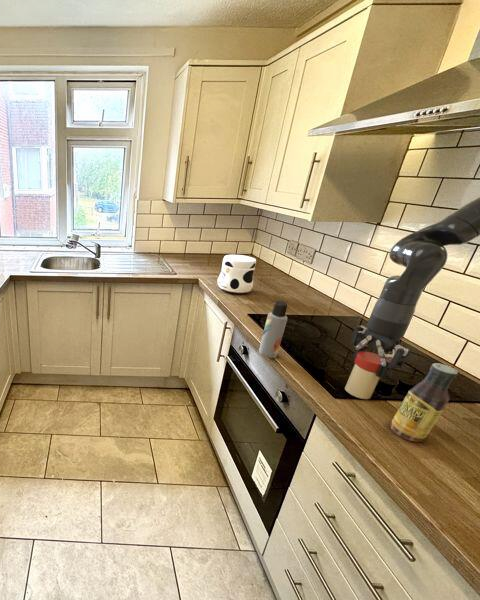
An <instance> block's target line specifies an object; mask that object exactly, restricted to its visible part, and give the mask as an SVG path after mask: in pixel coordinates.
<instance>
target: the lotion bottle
mask: <svg viewBox="0 0 480 600" xmlns="http://www.w3.org/2000/svg"><path fill="white" fill-rule="evenodd" d="M288 305H289V304H288V302H287V301H284V300H274V302H273V306H272V310H271V312H268V314H267V317H266V320H265V325H264V329H263V333H262V337H261V341H260V345H259V349H258V353H259V355H261V356H262V357H265V358H267V359H274V358H277V357H278V353H279V350H280V347H281V344H282V343H281V342H282V340H283V335H284V332H285V329H286V325H287V322H288V316H287V314H286V313H287V310H288Z"/></svg>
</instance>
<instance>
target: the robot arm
mask: <svg viewBox="0 0 480 600" xmlns="http://www.w3.org/2000/svg"><path fill="white" fill-rule="evenodd" d="M478 237H480V196H479V197H476V198H475V199H473V200H471V201H469V202H468V203H466V204H464V205H463V206H461V207H460V208H458V209H457V210H455V211H454V212H452V213H450V214H449V215H448V216H446V217H445V218H442V219H441V220H439V221H438V222H435V223H433V224H430V225H428V226H426V227H423V228H421V229H419V230H417V231H413V232H412V233H410V234H408V235H406V236H404V237H402V238H401V239H399V240H398V241H397V242H395V244H393V246H392V247H391V248H390V251H389V256H388V257H389V258H390V260H391V262H392V263H395V264H396V265H398V266H401V267H403V268H405V269H404V271H403V272H402V273H401V274H400V275H392V276H389V277H388V278H387V279H386V281H385V282H384V284H383V287H382V289H381V292H380V294H379V296H378V299H377V300H376V302H375V304H374V306H373V308H372V311H371V312H370V316H369V318H368V320H367V323H366V325H356V326H355V327H354V330H353V333H352V337H351V339H350V344H351V345H352V346H354V349H355V351H354V353H353V355H352V360H353V362H354V361H355V358H356V356H357V353H358V352H362V351H365V352H367V350H368V349H369V348H371V349H374V350H375V351H376V352H377V355H378V356H379V357H380V358H381V364H380V366H379V368H378V370H377V373H376V376H377V377H380V378H385V377H388V376H389V374H390V371H391V370H392V369H402V368H403V366H404V364H405V363H406V361H407V359H408V358H409V356H410V355H411V353H412V350H411V348H409V347H408V348H407V347H404V346H403V345H401V343H400V340H401V339H402V338H403V337H404V336H405V334H406V331H407V330H408V329H409V325H410V323H411V321H412V318H413V316H414V314H415V312H416V309H417V304H418V302H419V300H420V299H421V296H422V294H423V291H424V290H425V288H427V286H428V285H429V284H430V283H431V282H432V281H433V280H434V279H435V278H436V276H437V275H438V274H439V273H440V272H441V271H442V269H443V268H444V267H445V265H446V263H447V261H448V251H447V248H446V246H461V245H464V244H468V243H470V242H471V241H473V240H475V239H476V238H478ZM387 360H388V362H387Z"/></svg>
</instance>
